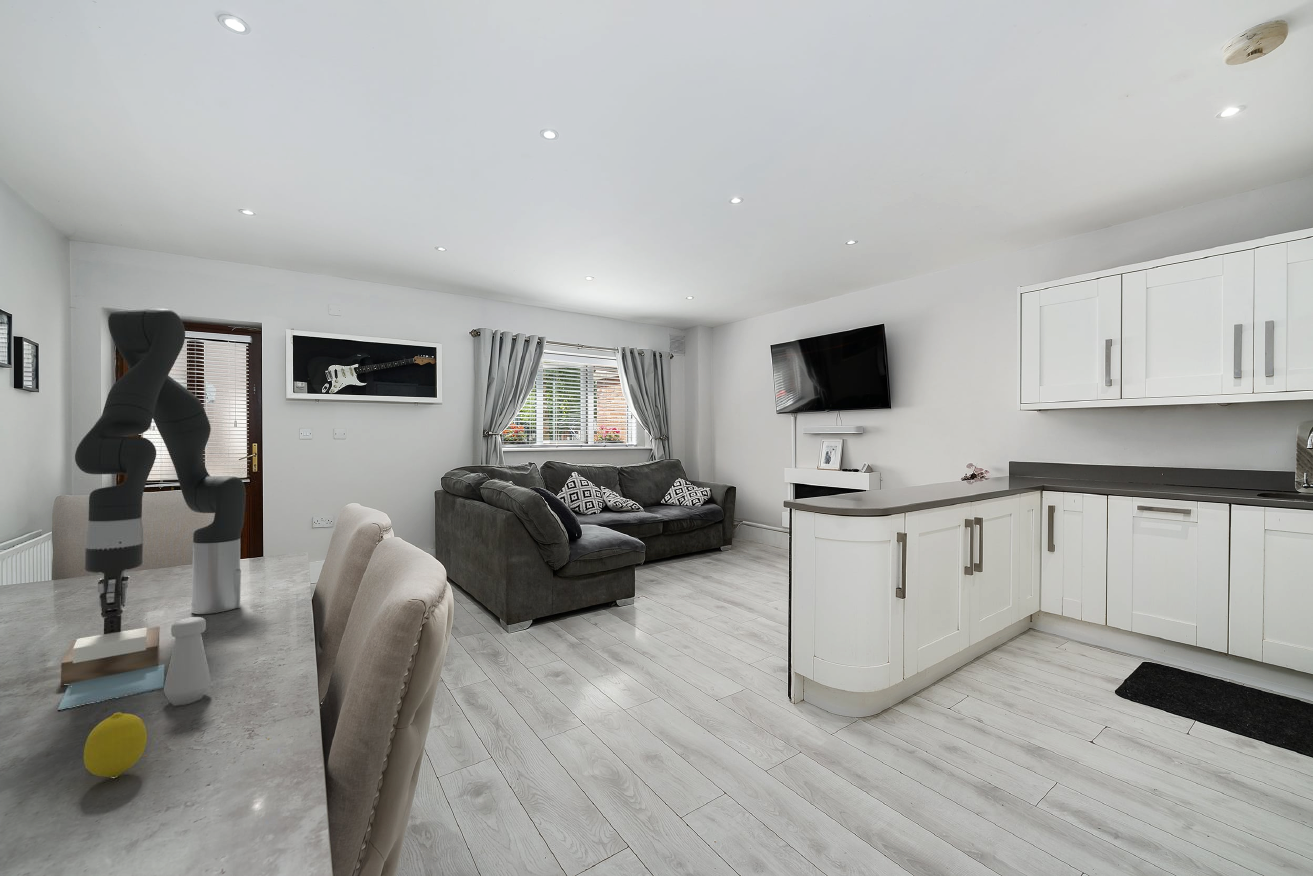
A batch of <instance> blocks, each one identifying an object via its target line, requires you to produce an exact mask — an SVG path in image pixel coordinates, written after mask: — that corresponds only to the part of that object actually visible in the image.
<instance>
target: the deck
mask: <svg viewBox="0 0 1313 876" xmlns="http://www.w3.org/2000/svg"><path fill="white" fill-rule="evenodd" d="M146 628H147V643H146V650H143V651H138V652H132V653H127V654H121V655H116V656H110V657H105V658H99V659H94V660H89V661H83V662H78V663H73V648H74V645H75V643H76V641H77V639H73V640H72V642H71V643H70V645H69V647H68V650H67V651H66V654H65V656H64V658H63V659H62V661H61V664H60V665H61V666H60V668H61V669H60V686H61V685H64V684H69V683H73V682H78V681H83V680H88V679H94V678H99V677H104V676H109V675H114V674H119V673H124V672H129V671H134V670H139V669H144V668H149V667H154V666H159V665H158V663H159V652H160V629H161V628H160V626H155V627H154V626H153V627H146Z"/></svg>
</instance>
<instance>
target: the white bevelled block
mask: <svg viewBox="0 0 1313 876" xmlns="http://www.w3.org/2000/svg"><path fill="white" fill-rule="evenodd" d="M147 628H148V627H141V628H134V629H129V630H123V631H122V630H121V632H116V633H110V634H104V633H103V634H99V635H98V634H97V635H92V636H91V635H90V636H86V637H81V638H76V640H77V641H76V643H75V645H74V648H73V663H78V662H83V661H89V660H94V659H99V658H105V657H110V656H116V655H121V654H127V653H132V652H138V651H143V650H146V643H147Z"/></svg>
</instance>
